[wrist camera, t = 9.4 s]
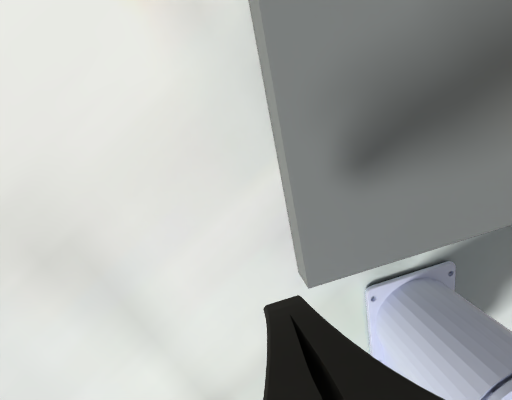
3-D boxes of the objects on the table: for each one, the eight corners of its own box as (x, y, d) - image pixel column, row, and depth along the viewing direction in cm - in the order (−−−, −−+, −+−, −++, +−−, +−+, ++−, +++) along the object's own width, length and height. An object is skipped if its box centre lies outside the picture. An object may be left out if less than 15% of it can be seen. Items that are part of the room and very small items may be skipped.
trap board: (584, 185, 24) (646, 197, 21) (298, 272, 21) (317, 302, 18) (638, -79, 18) (736, -121, 15) (246, -10, 15) (260, -45, 12)
